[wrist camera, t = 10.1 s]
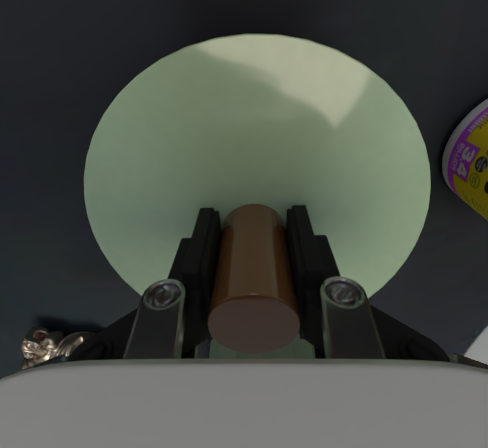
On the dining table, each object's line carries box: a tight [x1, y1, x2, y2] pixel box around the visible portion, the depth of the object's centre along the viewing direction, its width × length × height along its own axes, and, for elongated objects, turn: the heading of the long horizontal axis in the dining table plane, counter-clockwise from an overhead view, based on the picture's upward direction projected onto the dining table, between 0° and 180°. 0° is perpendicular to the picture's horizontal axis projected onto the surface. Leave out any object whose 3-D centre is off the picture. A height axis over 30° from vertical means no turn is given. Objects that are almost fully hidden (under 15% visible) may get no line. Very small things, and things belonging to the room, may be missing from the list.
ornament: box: [21, 327, 96, 370], centre depth 26 cm, size 8×7×4 cm
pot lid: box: [84, 33, 431, 354], centre depth 11 cm, size 15×15×6 cm
